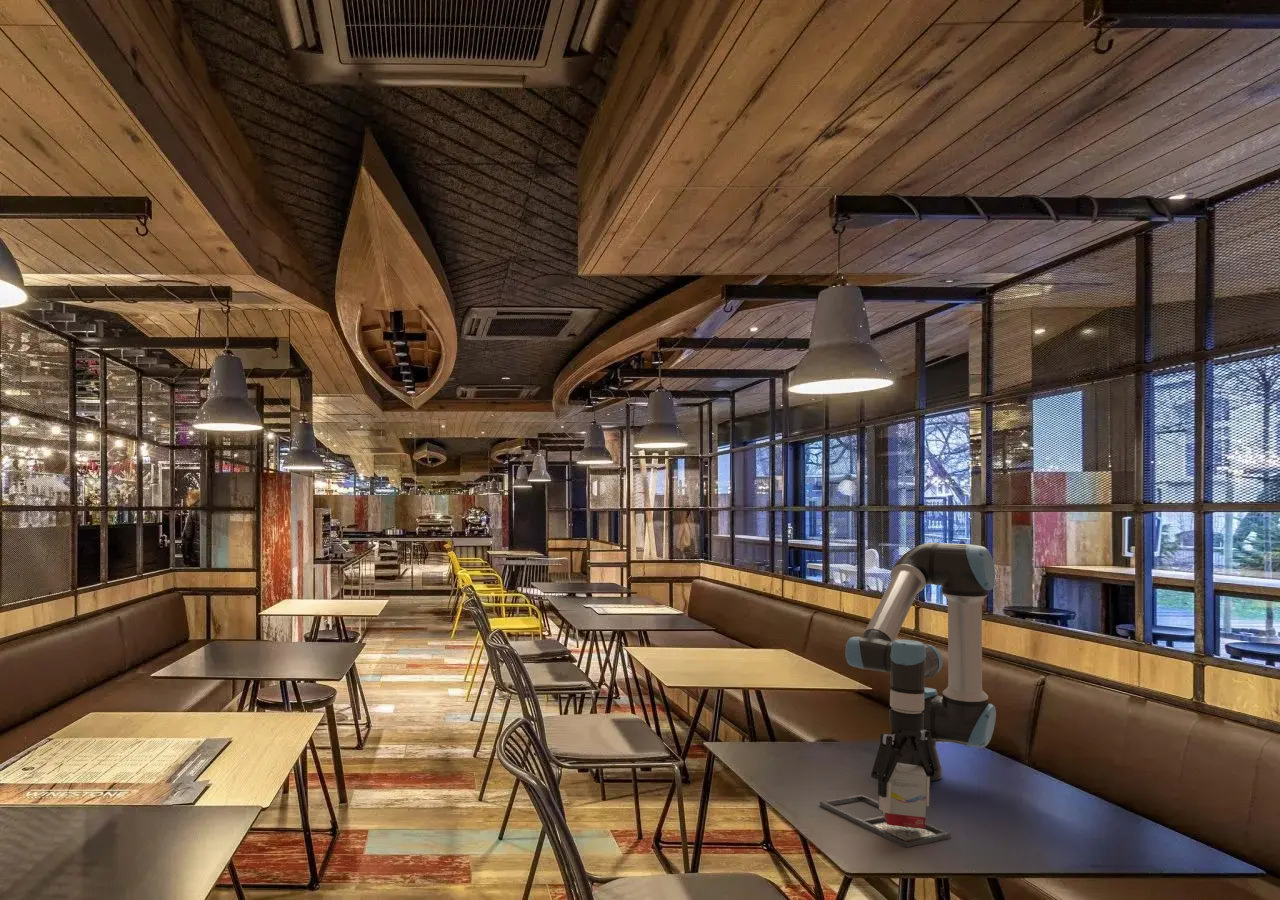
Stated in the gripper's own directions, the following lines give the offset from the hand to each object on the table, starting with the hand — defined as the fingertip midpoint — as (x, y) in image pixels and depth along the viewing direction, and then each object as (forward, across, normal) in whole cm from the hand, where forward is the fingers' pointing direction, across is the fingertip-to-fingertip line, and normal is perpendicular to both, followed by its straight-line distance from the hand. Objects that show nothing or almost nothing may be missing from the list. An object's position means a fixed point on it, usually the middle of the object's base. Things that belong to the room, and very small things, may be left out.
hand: (904, 807), depth 186 cm
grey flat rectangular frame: (+5, 0, -6) cm, 8 cm away
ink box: (+3, 0, 0) cm, 3 cm away
